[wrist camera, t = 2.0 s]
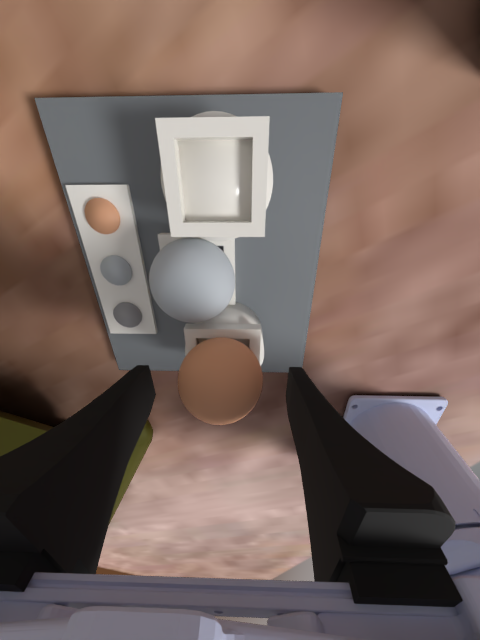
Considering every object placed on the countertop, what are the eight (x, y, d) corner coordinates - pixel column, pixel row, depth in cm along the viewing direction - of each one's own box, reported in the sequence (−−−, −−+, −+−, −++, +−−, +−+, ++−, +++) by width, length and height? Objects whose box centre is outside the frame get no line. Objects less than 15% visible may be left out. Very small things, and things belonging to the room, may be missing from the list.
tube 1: (266, 232, 14) (271, 243, 11) (181, 232, 14) (165, 244, 11) (271, 124, 11) (278, 105, 9) (169, 126, 12) (145, 107, 9)
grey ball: (237, 302, 16) (233, 339, 12) (170, 301, 16) (144, 338, 12) (236, 230, 14) (231, 247, 10) (158, 230, 14) (124, 248, 10)
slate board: (299, 364, 19) (303, 378, 18) (124, 361, 20) (115, 375, 18) (335, 99, 12) (347, 87, 10) (50, 104, 12) (23, 93, 11)
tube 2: (260, 360, 18) (263, 391, 15) (196, 359, 18) (187, 390, 15) (263, 301, 16) (266, 324, 13) (189, 300, 16) (177, 324, 13)
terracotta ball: (259, 382, 16) (263, 445, 12) (191, 381, 16) (173, 443, 12) (262, 322, 14) (268, 376, 10) (184, 321, 14) (158, 374, 10)
